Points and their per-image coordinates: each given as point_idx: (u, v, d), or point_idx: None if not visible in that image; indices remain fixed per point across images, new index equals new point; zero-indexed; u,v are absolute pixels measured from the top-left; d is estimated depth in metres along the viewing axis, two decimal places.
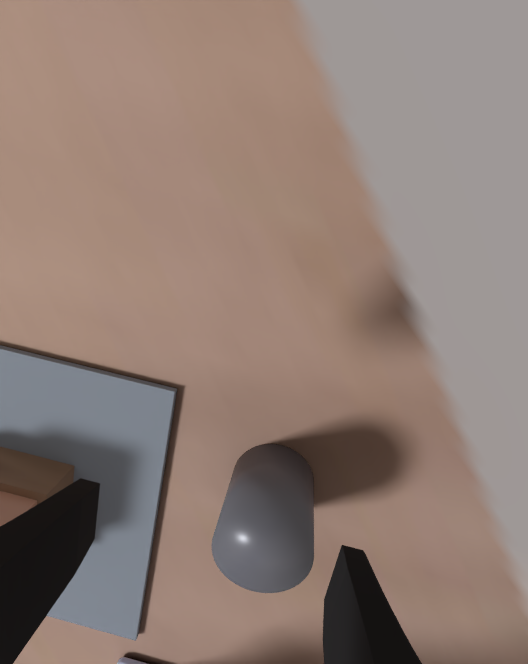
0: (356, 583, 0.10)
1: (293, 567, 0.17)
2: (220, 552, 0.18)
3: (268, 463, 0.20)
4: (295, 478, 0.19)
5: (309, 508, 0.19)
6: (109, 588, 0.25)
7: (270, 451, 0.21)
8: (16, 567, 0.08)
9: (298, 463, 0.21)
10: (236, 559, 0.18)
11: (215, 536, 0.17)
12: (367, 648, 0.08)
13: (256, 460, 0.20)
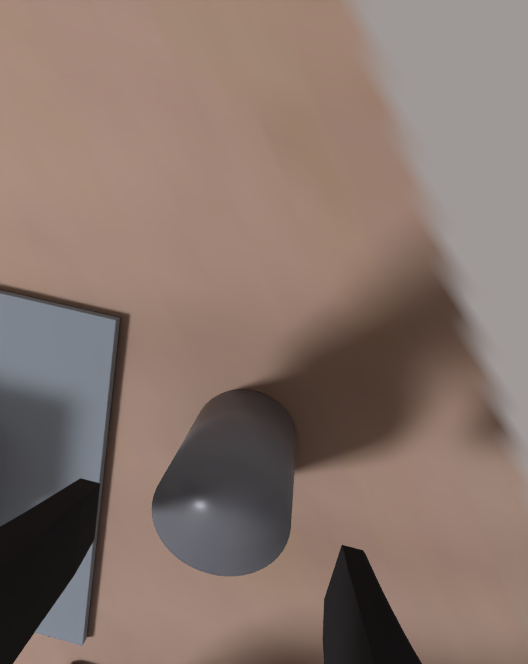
0: (356, 583, 0.10)
1: (263, 539, 0.13)
2: (164, 520, 0.13)
3: (234, 408, 0.15)
4: (269, 426, 0.15)
5: (287, 463, 0.14)
6: None
7: (238, 397, 0.16)
8: (15, 568, 0.08)
9: (275, 411, 0.16)
10: (186, 529, 0.13)
11: (155, 496, 0.13)
12: (367, 648, 0.08)
13: (220, 406, 0.16)
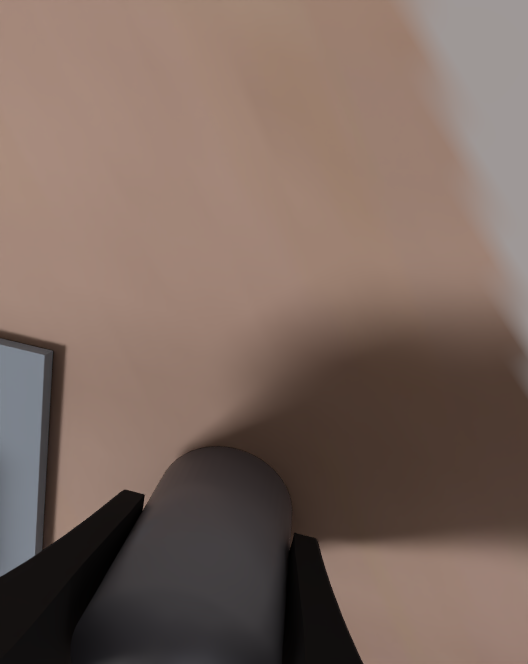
0: (301, 569, 0.10)
1: None
2: None
3: (203, 483, 0.11)
4: (252, 511, 0.10)
5: (276, 572, 0.10)
6: None
7: (212, 460, 0.12)
8: (76, 584, 0.08)
9: (262, 482, 0.12)
10: None
11: (75, 639, 0.08)
12: (302, 630, 0.08)
13: (186, 476, 0.11)
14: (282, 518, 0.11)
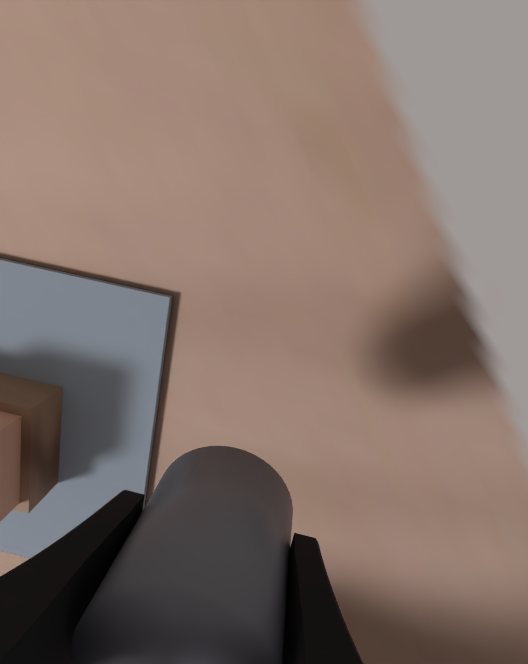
0: (301, 569, 0.10)
1: None
2: None
3: (204, 482, 0.11)
4: (253, 510, 0.10)
5: (277, 571, 0.10)
6: None
7: (213, 459, 0.12)
8: (76, 584, 0.08)
9: (263, 481, 0.12)
10: None
11: (76, 638, 0.08)
12: (301, 630, 0.08)
13: (187, 476, 0.11)
14: (283, 517, 0.11)
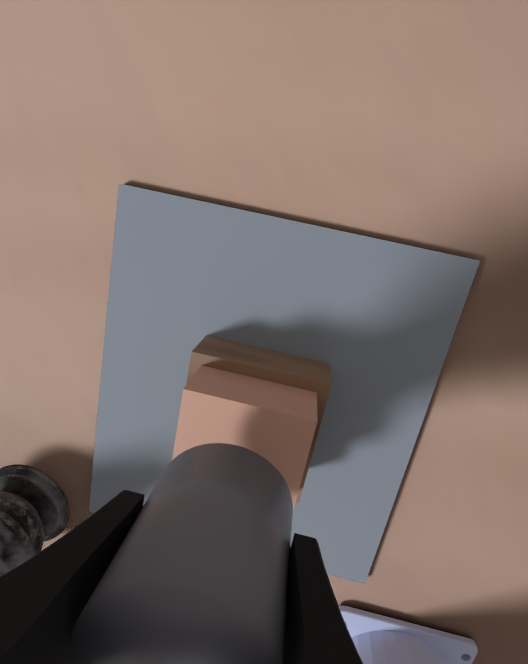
0: (301, 569, 0.10)
1: None
2: None
3: (206, 479, 0.11)
4: (255, 508, 0.10)
5: (278, 569, 0.10)
6: (344, 518, 0.21)
7: (214, 456, 0.12)
8: (76, 584, 0.08)
9: (265, 479, 0.12)
10: None
11: (75, 633, 0.08)
12: (302, 631, 0.08)
13: (188, 473, 0.11)
14: (284, 516, 0.11)
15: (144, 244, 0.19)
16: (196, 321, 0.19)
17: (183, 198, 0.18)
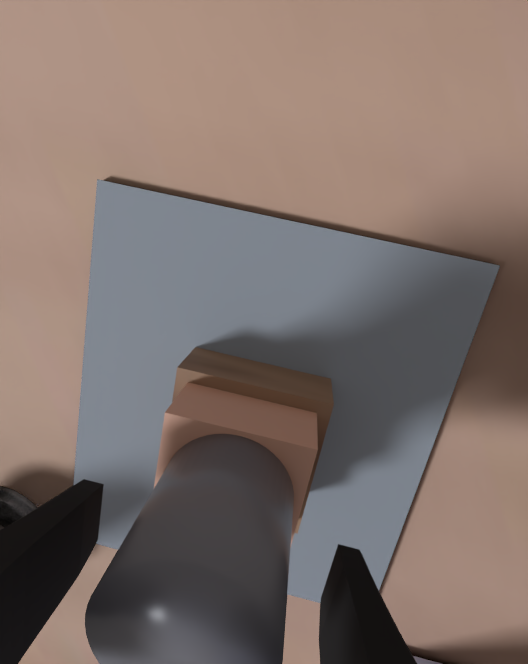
0: (352, 582, 0.10)
1: None
2: (102, 638, 0.09)
3: (211, 467, 0.11)
4: (257, 494, 0.11)
5: (280, 551, 0.10)
6: None
7: (219, 446, 0.12)
8: (20, 569, 0.08)
9: (267, 468, 0.12)
10: (133, 653, 0.09)
11: (90, 609, 0.09)
12: (362, 647, 0.08)
13: (194, 461, 0.12)
14: (285, 502, 0.12)
15: (126, 247, 0.17)
16: (184, 332, 0.18)
17: (168, 196, 0.16)
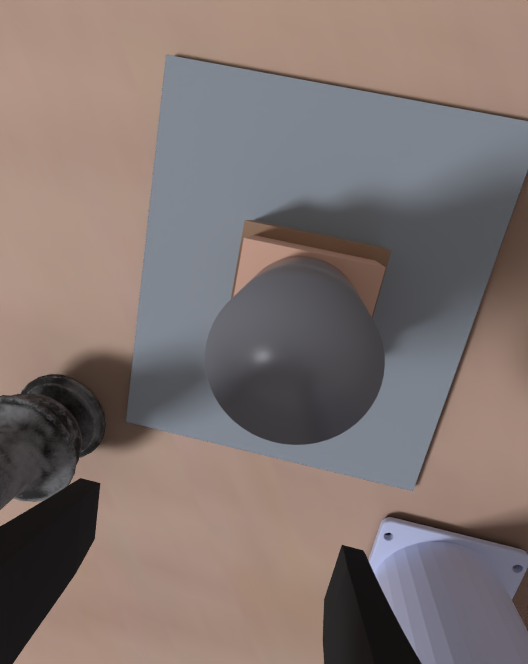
0: (356, 583, 0.10)
1: (346, 392, 0.10)
2: (219, 369, 0.10)
3: (297, 261, 0.12)
4: (342, 278, 0.12)
5: None
6: (392, 419, 0.21)
7: (298, 258, 0.13)
8: (15, 567, 0.08)
9: (343, 274, 0.13)
10: (247, 381, 0.10)
11: (211, 336, 0.10)
12: (367, 648, 0.08)
13: (279, 263, 0.13)
14: None
15: (190, 121, 0.18)
16: (243, 205, 0.19)
17: (233, 68, 0.17)
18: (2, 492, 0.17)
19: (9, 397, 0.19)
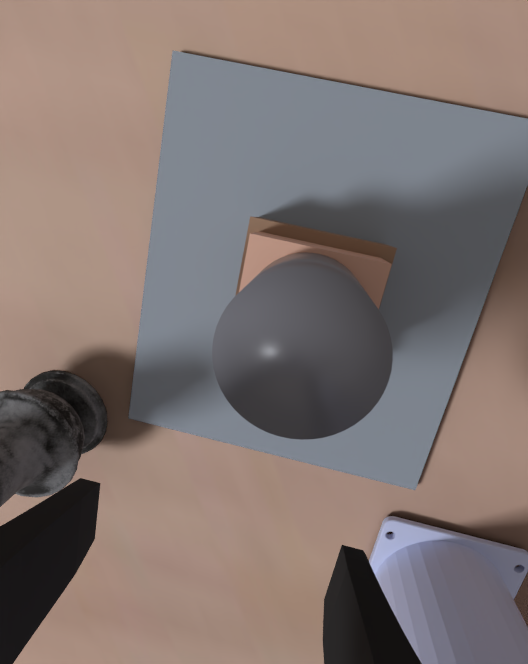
0: (356, 583, 0.10)
1: (354, 387, 0.10)
2: (227, 362, 0.10)
3: (304, 257, 0.12)
4: (349, 273, 0.12)
5: None
6: (395, 418, 0.21)
7: (304, 254, 0.13)
8: (16, 568, 0.08)
9: (349, 270, 0.13)
10: (254, 375, 0.10)
11: (218, 329, 0.10)
12: (367, 648, 0.08)
13: (285, 258, 0.13)
14: None
15: (196, 117, 0.18)
16: (248, 202, 0.19)
17: (239, 64, 0.17)
18: (4, 487, 0.17)
19: (12, 392, 0.19)
